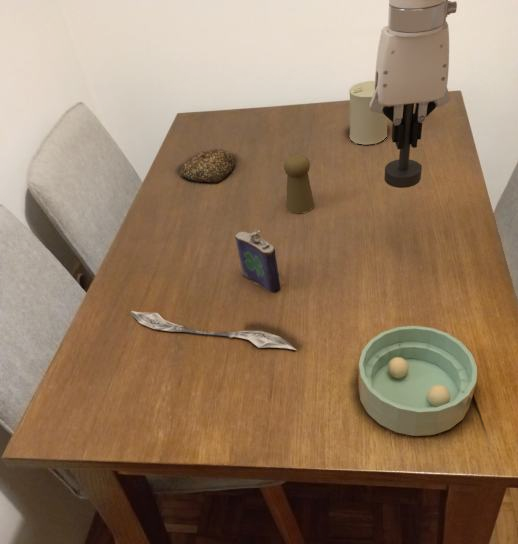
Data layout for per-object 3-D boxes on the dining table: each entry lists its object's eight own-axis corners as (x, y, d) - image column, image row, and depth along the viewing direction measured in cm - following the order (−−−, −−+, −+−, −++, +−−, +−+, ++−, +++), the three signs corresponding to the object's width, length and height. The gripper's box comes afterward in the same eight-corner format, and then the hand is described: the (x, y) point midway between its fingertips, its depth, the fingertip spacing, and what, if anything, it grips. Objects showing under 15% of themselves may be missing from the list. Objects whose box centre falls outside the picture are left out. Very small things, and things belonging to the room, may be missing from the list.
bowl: (454, 350, 79) (460, 321, 75) (483, 434, 69) (491, 407, 65) (353, 357, 81) (353, 330, 77) (365, 441, 70) (366, 415, 66)
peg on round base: (421, 169, 91) (429, 93, 82) (420, 188, 87) (429, 110, 78) (385, 169, 93) (390, 94, 83) (383, 187, 89) (387, 111, 79)
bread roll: (216, 188, 122) (212, 168, 118) (175, 179, 127) (169, 159, 124) (245, 162, 129) (242, 142, 125) (205, 154, 134) (201, 135, 131)
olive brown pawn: (282, 213, 111) (277, 164, 103) (290, 197, 115) (285, 149, 107) (310, 214, 109) (307, 165, 101) (317, 199, 113) (314, 150, 105)
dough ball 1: (391, 361, 74) (383, 356, 77) (392, 382, 75) (385, 376, 78) (411, 358, 74) (403, 353, 77) (412, 378, 75) (404, 372, 78)
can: (344, 132, 133) (344, 83, 124) (379, 125, 133) (381, 75, 124) (355, 148, 126) (356, 97, 118) (392, 141, 127) (395, 89, 118)
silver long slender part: (132, 310, 95) (119, 329, 92) (131, 307, 95) (118, 326, 92) (303, 332, 86) (296, 354, 83) (303, 329, 85) (295, 351, 82)
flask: (239, 275, 98) (230, 226, 91) (251, 267, 100) (243, 219, 92) (273, 295, 93) (267, 246, 86) (285, 287, 94) (279, 237, 87)
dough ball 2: (440, 380, 70) (420, 386, 72) (444, 402, 69) (425, 408, 71) (452, 383, 72) (433, 389, 74) (456, 405, 71) (437, 410, 73)
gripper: (467, 1, 74) (449, 129, 87) (355, 16, 75) (354, 139, 89) (483, 16, 69) (461, 150, 82) (361, 32, 70) (359, 161, 83)
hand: (405, 144), depth 85 cm, fingers closed on peg on round base
